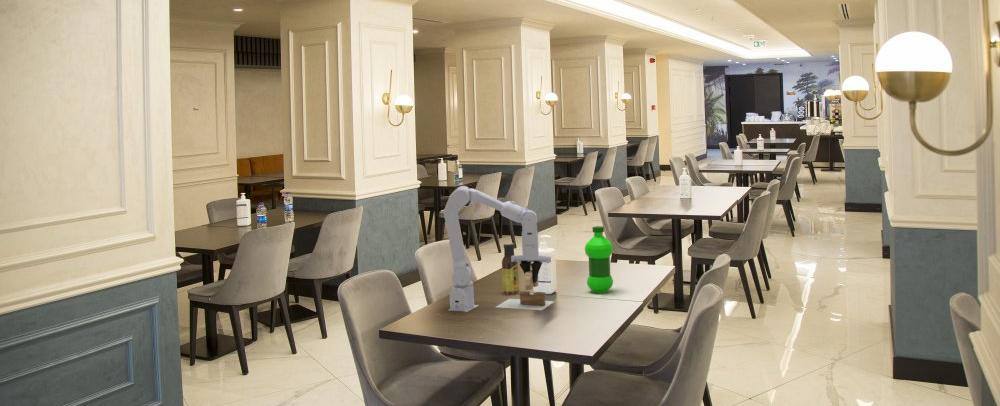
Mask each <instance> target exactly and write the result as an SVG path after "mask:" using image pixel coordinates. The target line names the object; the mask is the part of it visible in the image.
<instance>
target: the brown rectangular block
mask: <svg viewBox="0 0 1000 406" xmlns="http://www.w3.org/2000/svg"><path fill="white" fill-rule="evenodd" d="M519 299H520V305H535V306H545V301H546V292H543V291H539V292H538V291H536V292H535V293H534V294H531V292H530V291H527V290H524V291H523V290H521V291H519Z"/></svg>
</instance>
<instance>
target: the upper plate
mask: <svg viewBox="0 0 1000 406" xmlns="http://www.w3.org/2000/svg"><path fill="white" fill-rule="evenodd" d="M524 280H525V281H524V282H525V283H524V285H525V286H524V287H525V290H524V291H531V290H533V289H534V288H536V287H538V286H539V276H538V277H537V282H535V283H533V273H532V269H530V271H528V272H526V273H525V274H524Z"/></svg>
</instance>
